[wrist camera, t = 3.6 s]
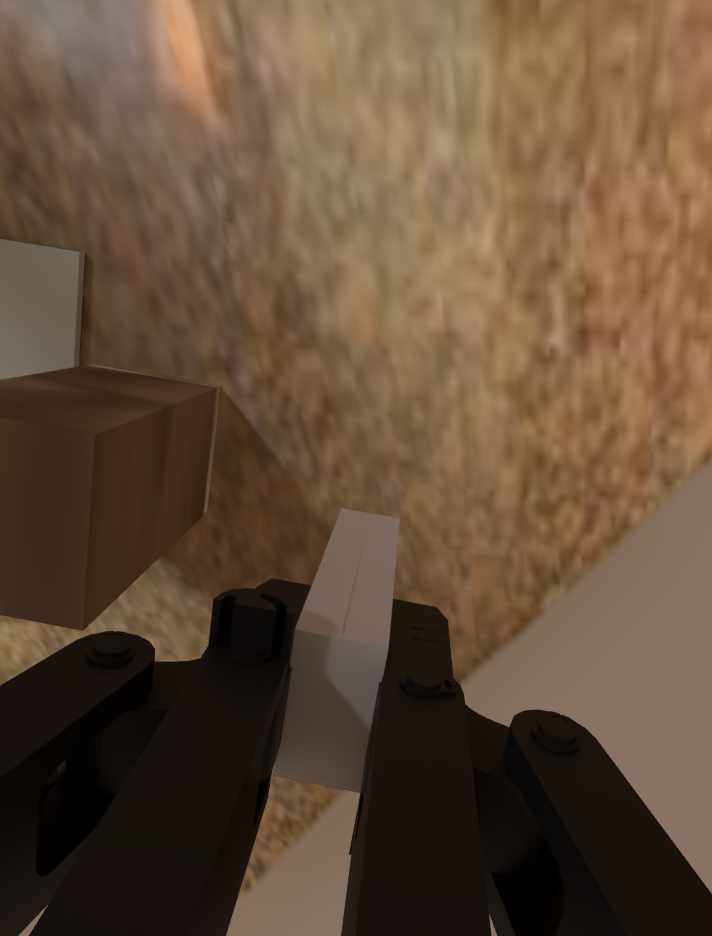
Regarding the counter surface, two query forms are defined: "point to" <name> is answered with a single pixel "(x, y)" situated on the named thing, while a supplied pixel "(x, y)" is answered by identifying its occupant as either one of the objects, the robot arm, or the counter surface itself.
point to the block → (96, 484)
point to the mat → (39, 308)
